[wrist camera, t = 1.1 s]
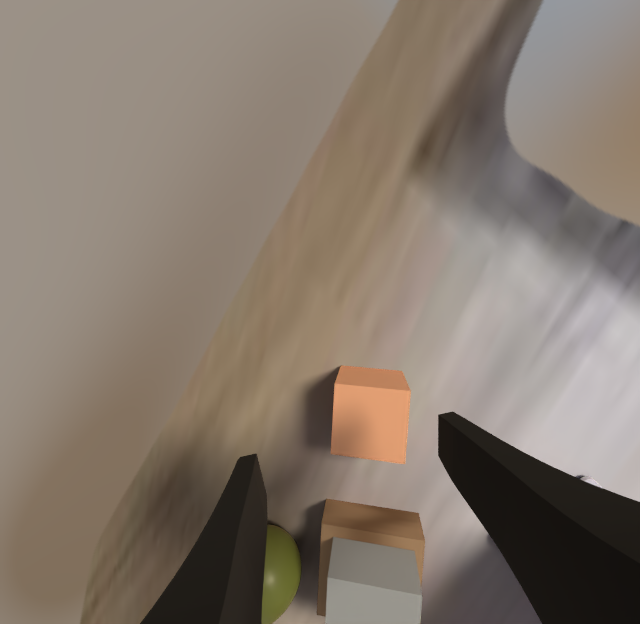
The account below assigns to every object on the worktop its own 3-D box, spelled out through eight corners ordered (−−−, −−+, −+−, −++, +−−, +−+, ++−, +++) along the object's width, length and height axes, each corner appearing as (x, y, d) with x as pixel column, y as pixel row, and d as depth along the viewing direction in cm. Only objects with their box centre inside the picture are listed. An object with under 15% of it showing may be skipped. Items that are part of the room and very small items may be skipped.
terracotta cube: (401, 370, 22) (410, 391, 18) (397, 429, 22) (405, 464, 18) (340, 365, 23) (334, 383, 18) (337, 422, 23) (330, 454, 19)
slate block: (414, 550, 20) (422, 595, 17) (408, 625, 21) (415, 681, 18) (333, 536, 21) (327, 577, 18) (329, 608, 22) (323, 659, 19)
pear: (302, 629, 19) (214, 676, 22) (324, 549, 24) (249, 596, 27) (240, 562, 19) (162, 617, 22) (274, 496, 24) (206, 550, 27)
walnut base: (417, 508, 23) (424, 541, 20) (410, 592, 24) (417, 636, 21) (327, 494, 24) (321, 523, 21) (322, 575, 25) (316, 614, 22)
